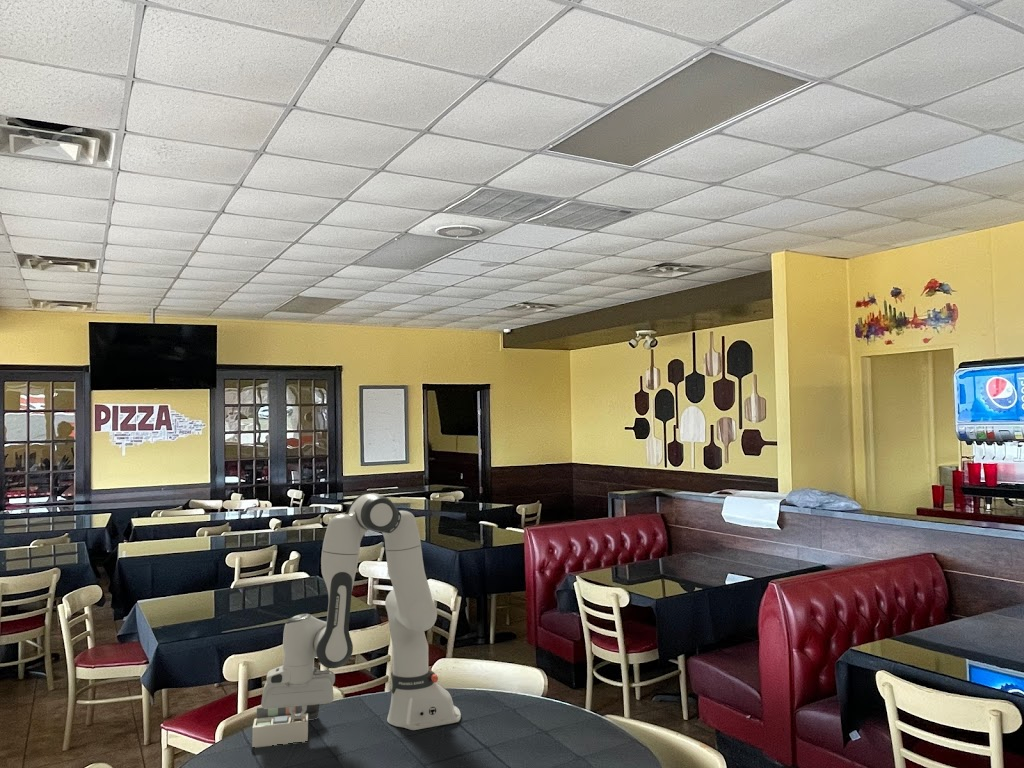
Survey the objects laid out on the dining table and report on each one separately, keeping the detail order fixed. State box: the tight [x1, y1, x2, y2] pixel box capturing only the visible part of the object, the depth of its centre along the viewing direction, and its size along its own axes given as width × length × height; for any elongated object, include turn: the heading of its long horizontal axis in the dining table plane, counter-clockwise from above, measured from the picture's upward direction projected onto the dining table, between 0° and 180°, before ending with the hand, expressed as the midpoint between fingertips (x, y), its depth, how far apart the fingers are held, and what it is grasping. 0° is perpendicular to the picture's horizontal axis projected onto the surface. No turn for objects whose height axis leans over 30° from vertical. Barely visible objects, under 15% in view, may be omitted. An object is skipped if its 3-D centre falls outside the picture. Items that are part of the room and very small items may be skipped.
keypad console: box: [251, 706, 309, 748], centre depth 220 cm, size 15×9×8 cm, turn 104°
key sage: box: [257, 722, 270, 725], centre depth 218 cm, size 4×4×2 cm
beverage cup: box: [306, 666, 320, 720], centre depth 236 cm, size 7×7×20 cm
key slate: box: [274, 716, 288, 724], centre depth 219 cm, size 4×4×2 cm
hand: (297, 720), depth 220 cm, fingers closed, pressing on key terracotta
